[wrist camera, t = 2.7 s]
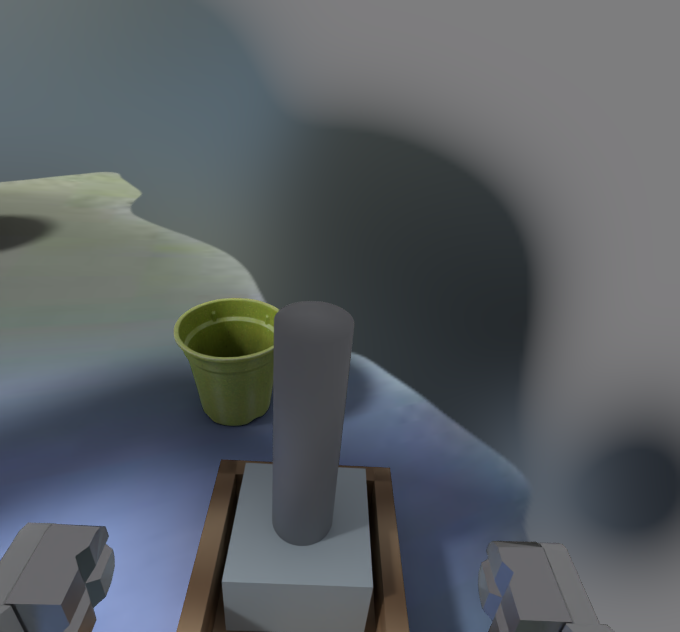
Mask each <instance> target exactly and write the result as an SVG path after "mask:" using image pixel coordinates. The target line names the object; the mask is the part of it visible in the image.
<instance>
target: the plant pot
mask: <svg viewBox="0 0 680 632" xmlns="http://www.w3.org/2000/svg"><path fill="white" fill-rule="evenodd" d="M278 311H279V309H277V308H276V307H274V306H272V305H270V304H267V303H264V302H261V301H258V300H253V299H242V298H230V299H218V300H213V301H209V302H205V303H203V304H200V305H198V306H195V307H193V308H191V309H190V310H188V311H186V312H185V313H184V314H183V315H182V316H181V317H180V318H179V319H178V321H177V322H176V324H175V327H174V337H175V341H176V343H177V344H178V346H179V347H180V348H181V349H182V350H183V352H184V354H185V356H186V357H187V359H188V360H189V363H190V366H191V369H192V373H193V376H194V379H195V383H196V386H197V389H198V393H199V397H200V400H201V404H202V407H203V410H204V412H205V413H206V414H207V415H208V416H209V417H210V418H211V419H212V420H213V421H214V422H216V423H219V424H222V425H229V426H238V425H244V424H248V423H249V422H251V421H252V420H253V419H255V418H257V417H260V416H263V415H264V414H265V413H266V411H267V410H268V408H269V405H270V400H271V394H272V388H273V367H274V317H275V315H276V313H277V312H278Z"/></svg>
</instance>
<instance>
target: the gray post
mask: <svg viewBox="0 0 680 632" xmlns="http://www.w3.org/2000/svg"><path fill="white" fill-rule="evenodd" d="M353 331H354V320H353V318H352V316H351V315H350V314H349V313H348V312H347V311H345V310H344V309H342V308H340V307H338V306H336V305H333V304H330V303H326V302H319V301H303V302H297V303H293V304H290V305H287V306H285V307H283V308H282V309H280V310H279V311H278V312H277V313H276V315H275V317H274V367H273V464H261V463H246V465H245V470H244V475H243V480H242V484H241V489H240V494H239V499H238V504H237V509H236V514H235V519H234V524H233V529H232V534H231V539H230V544H229V549H228V554H227V558H226V563H225V568H224V573H223V578H222V590H223V601H224V613H225V625H226V630H230V631H260V632H364V630H365V625H366V620H367V615H368V610H369V605H370V600H371V595H372V590H373V578H372V563H371V547H370V531H369V515H368V500H367V484H366V469H362V468H342V467H338V466H339V457H340V448H341V439H342V430H343V421H344V412H345V403H346V394H347V385H348V376H349V367H350V358H351V349H352V340H353Z"/></svg>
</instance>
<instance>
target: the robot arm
mask: <svg viewBox="0 0 680 632" xmlns="http://www.w3.org/2000/svg"><path fill="white" fill-rule="evenodd" d="M108 537H109V535H108V532H107V529H106V527H105V526H87V525H65V524H53V523H27V524H26V525H25V526H24V527H23V528H22V529H21V530H20V531H19V532H18V534H17V535H16V537H15V539H14V540H13V542H12V543H11V545H10V547H9V548H8V550H7V551H6V553H5V555H4V556H3V558H2V559H1V561H0V632H92V629H93V627H94V625H95V622H96V616H95V612H94V607H95V606H96V605H97V604H98V603H99V602H100V601H102V600H103V599H104V598H105V597H106V595H107V592H108V589H109V587H110V584H111V581H112V576H113V572H114V567H115V559H114V553H113V549H112V548H110V547H109V546H108V545H106V542H107V539H108ZM486 552H487V555H488V559H487V560H486V561H484V562H482V563H481V567H480V570H479V576H478V588H479V595H480V600H481V605H482V609H483V610H484V612H485V613H486V614H487V615H488V616H489V617H490V618H491V619H492V624H491V626H490V629H489V631H488V632H614V631H613V630H612V629H611V628H610V627H609V626H608V625H604V624H600V623H599V621H598V618H597V616H596V614H595V612H594V610H593V607H592V605H591V602H590V600H589V598H588V596H587V594H586V591H585V589H584V587H583V584H582V582H581V580H580V578H579V575H578V573H577V571H576V569H575V566H574V564H573V562H572V560H571V557H570V555H569V553H568V551H567V549H566V548H565V547H564V545H563V544H559V543H537V542H517V541H492V542H490V543H489V545H488V547H487V550H486Z"/></svg>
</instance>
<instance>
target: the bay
mask: <svg viewBox="0 0 680 632" xmlns="http://www.w3.org/2000/svg"><path fill="white" fill-rule="evenodd" d="M246 463H261V464H273V462H262V461H242V460H222V459H221V462H220V466H219V470H218V474H217V478H216V482H215V485H214V489H213V493H212V497H211V501H210V505H209V508H208V512H207V516H206V520H205V524H204V528H203V532H202V535H201V539H200V543H199V547H198V551H197V555H196V559H195V562H194V566H193V570H192V574H191V578H190V582H189V585H188V589H187V593H186V597H185V601H184V605H183V609H182V612H181V616H180V620H179V624H178V628H177V632H260V631H230V630H226V625H225V613H224V601H223V590H222V578H223V573H224V568H225V563H226V558H227V554H228V549H229V544H230V539H231V534H232V529H233V524H234V519H235V514H236V509H237V504H238V499H239V494H240V489H241V484H242V480H243V475H244V470H245V465H246ZM338 467H342V468H362V469H366V484H367V500H368V515H369V531H370V547H371V563H372V578H373V590H372V595H371V600H370V605H369V610H368V615H367V620H366V625H365V630H364V632H409V625H408V616H407V608H406V599H405V591H404V582H403V574H402V565H401V557H400V548H399V540H398V531H397V523H396V514H395V506H394V497H393V489H392V481H391V472H390V468H383V467H363V466H343V465H339V466H338Z"/></svg>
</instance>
